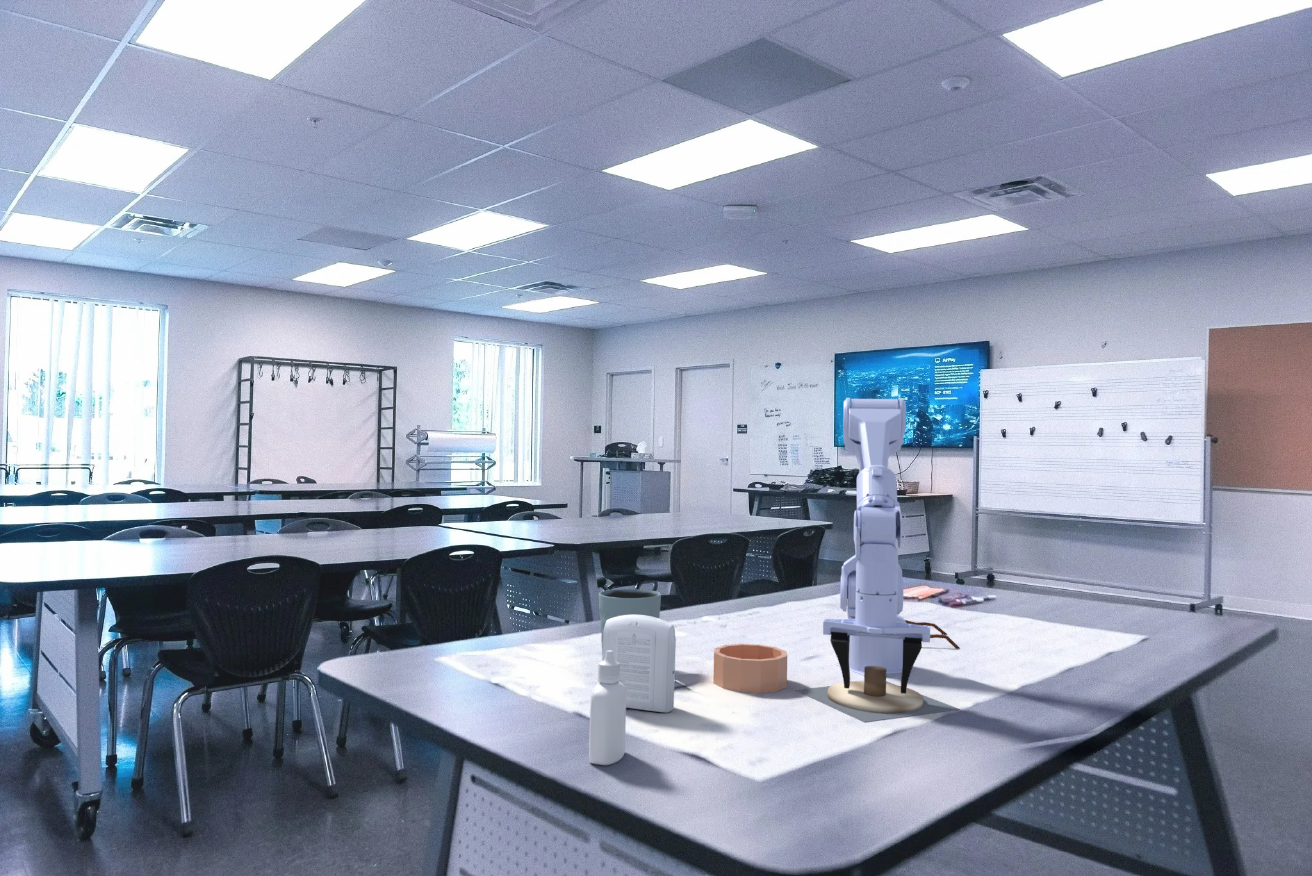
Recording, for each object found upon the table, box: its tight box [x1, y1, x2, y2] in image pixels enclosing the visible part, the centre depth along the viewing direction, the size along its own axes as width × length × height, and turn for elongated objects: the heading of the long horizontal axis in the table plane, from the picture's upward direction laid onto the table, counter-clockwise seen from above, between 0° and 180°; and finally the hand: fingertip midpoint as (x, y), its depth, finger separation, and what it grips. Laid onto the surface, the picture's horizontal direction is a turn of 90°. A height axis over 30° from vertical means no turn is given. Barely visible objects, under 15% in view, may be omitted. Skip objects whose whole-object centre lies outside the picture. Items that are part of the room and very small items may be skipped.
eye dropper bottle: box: [588, 650, 627, 766], centre depth 98 cm, size 4×6×12 cm
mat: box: [794, 680, 961, 723], centre depth 122 cm, size 16×16×1 cm
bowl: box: [712, 643, 788, 694], centre depth 130 cm, size 11×11×5 cm
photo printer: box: [601, 615, 677, 714], centre depth 118 cm, size 10×4×12 cm, turn 72°
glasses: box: [904, 619, 961, 650], centre depth 166 cm, size 13×13×5 cm
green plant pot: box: [598, 588, 662, 659], centre depth 139 cm, size 10×10×12 cm
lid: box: [828, 666, 923, 713], centre depth 122 cm, size 13×13×4 cm
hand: (874, 689), depth 122 cm, fingers open, 7 cm apart
